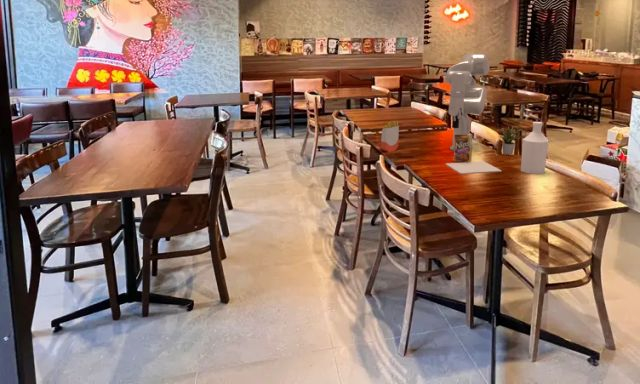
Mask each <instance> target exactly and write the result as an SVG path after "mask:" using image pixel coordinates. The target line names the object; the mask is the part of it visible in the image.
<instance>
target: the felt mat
mask: <svg viewBox="0 0 640 384" xmlns="http://www.w3.org/2000/svg"><path fill="white" fill-rule="evenodd" d="M445 166H447V167H448V168H449V169H452V170H453V171H454V172H456V173H458V174H459V175H470V174H471V175H472V174H485V173H487V174H488V173H499V172H500V173H502V170H501V169H499V168H498V167H495V166H494V165H492V164H490V163H488V162H487V161H483V160H481V161H471V162H449V163H445Z"/></svg>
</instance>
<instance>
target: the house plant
mask: <svg viewBox="0 0 640 384" xmlns="http://www.w3.org/2000/svg"><path fill="white" fill-rule="evenodd" d="M499 131H500V132H501V133H502V134H503V136H500V135H499V138H501V139H503V140H504V141H503V142H502V143H501V144H502V153H503V155H513V153H514V150H515V146H516V143H515V142H514V141H516V139H518V140H520V137H519V135H516V134H519V132H521V131H522V128H520V129H517V130H516V131H515V132H514V126H511V128H510V126H508V127H507V130H505V129H504V128H503V127H501V129H499ZM513 140H514V141H513Z"/></svg>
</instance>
